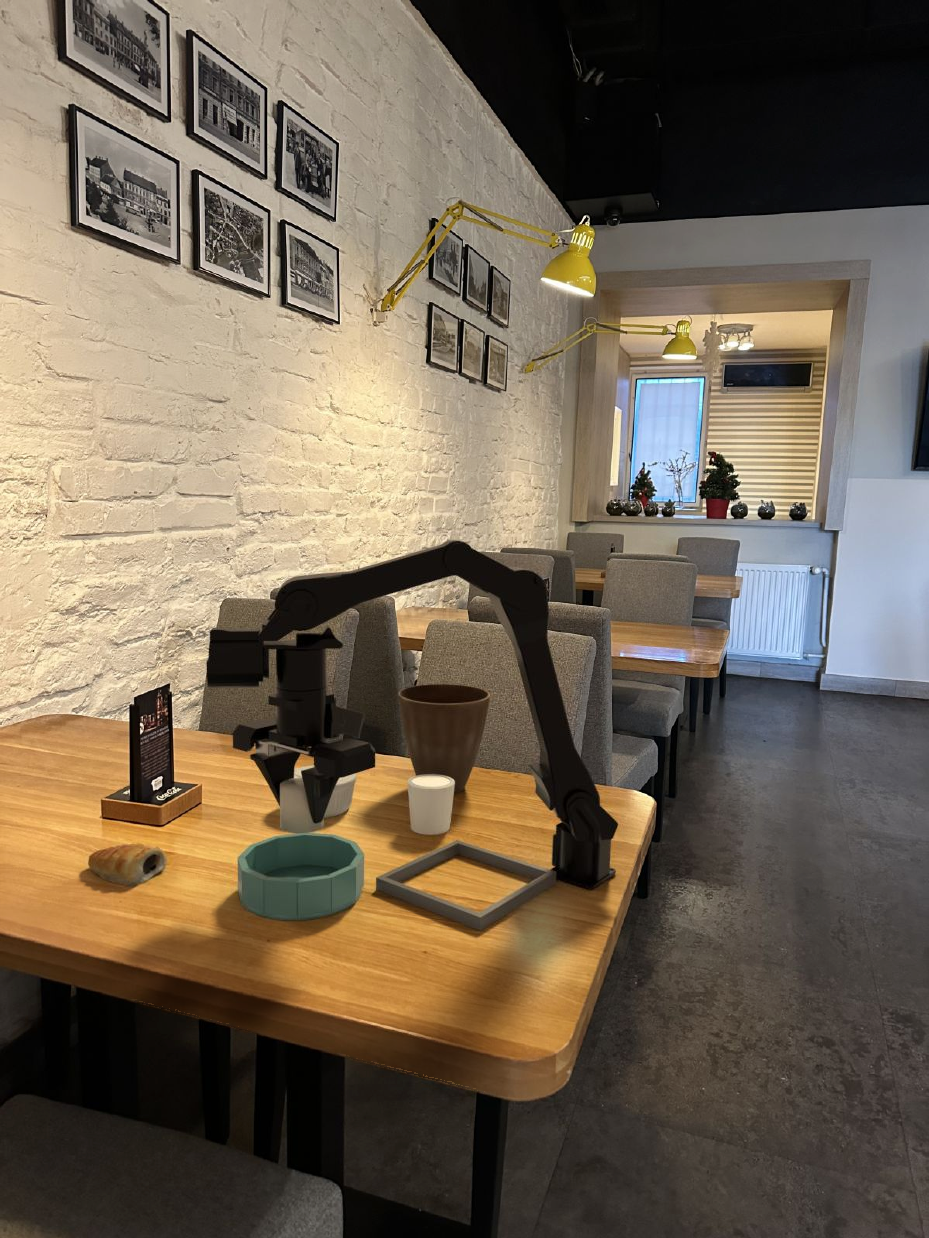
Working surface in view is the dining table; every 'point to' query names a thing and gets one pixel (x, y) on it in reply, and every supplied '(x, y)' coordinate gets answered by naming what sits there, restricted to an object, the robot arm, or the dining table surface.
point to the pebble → (295, 808)
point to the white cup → (430, 803)
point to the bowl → (300, 876)
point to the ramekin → (336, 793)
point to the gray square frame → (456, 912)
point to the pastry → (128, 863)
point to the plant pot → (444, 728)
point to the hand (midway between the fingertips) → (302, 817)
